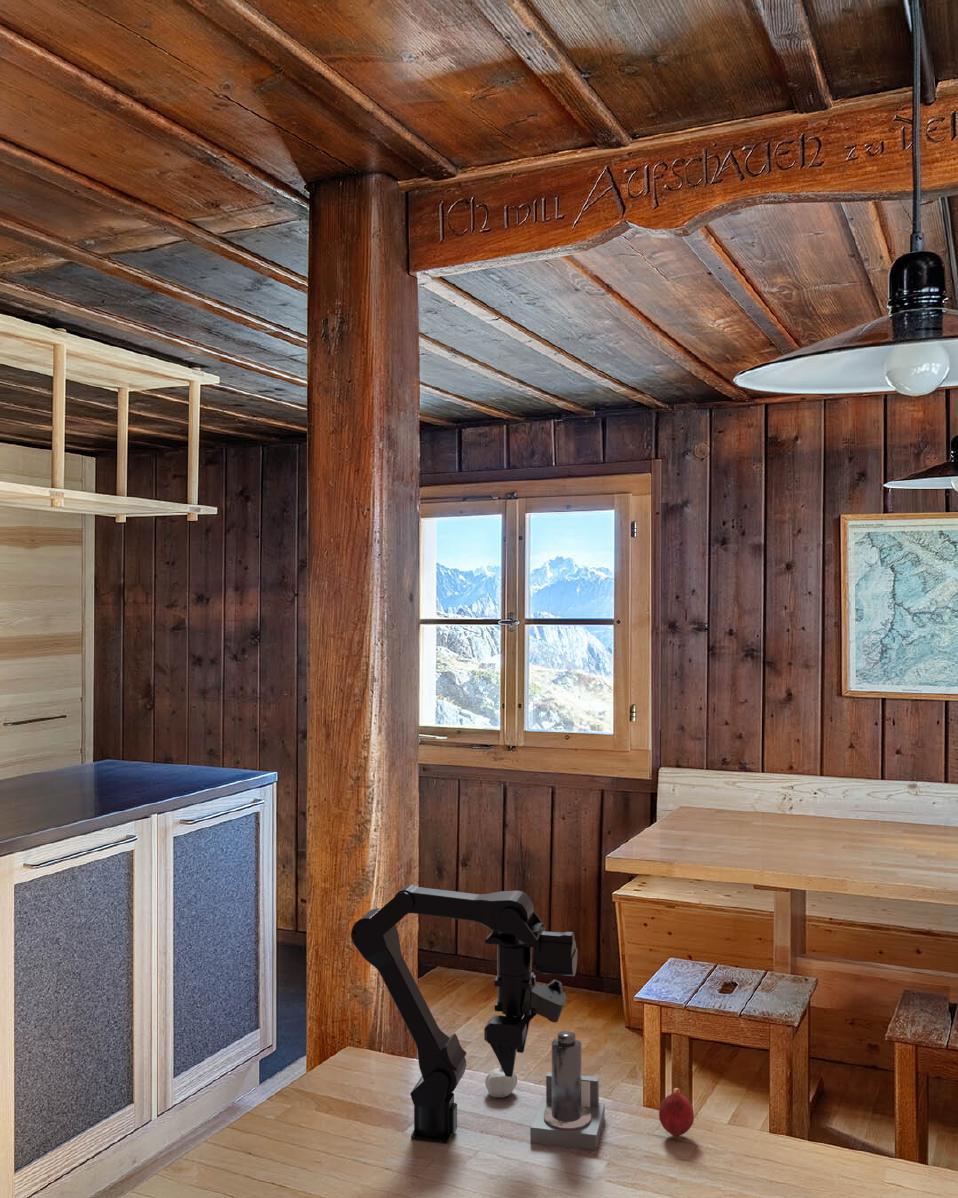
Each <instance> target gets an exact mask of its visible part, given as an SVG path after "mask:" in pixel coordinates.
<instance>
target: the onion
mask: <svg viewBox="0 0 958 1198" xmlns="http://www.w3.org/2000/svg"><path fill="white" fill-rule="evenodd" d="M658 1117H659V1121H660V1124H661V1125H662V1128H664V1130H665V1131H666V1132H667V1133H669V1134H670V1135H671V1136H673V1137H675V1138H678V1137H681V1136H682V1135H684V1134H685V1133H687V1132H688V1131H689V1130H690V1129H691V1127H692V1126H693V1125H694V1119H695V1113H694V1108H693V1105H692V1104H691V1102H690V1100H688V1098H687V1097H686V1096H685V1095H683V1094H682V1093H681V1089H680V1088H679V1087H676V1088H673V1091H672V1093H670V1094H669V1095H667V1096H666V1097H664V1098H663V1100H662V1101H661V1102H660V1105H659V1111H658Z"/></svg>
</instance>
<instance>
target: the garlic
mask: <svg viewBox="0 0 958 1198" xmlns="http://www.w3.org/2000/svg"><path fill="white" fill-rule="evenodd" d="M517 1084H518V1077H517V1074H516V1073H515V1072H514V1071H513V1075H512V1077H507V1076H505V1074H504V1071H503V1069H502V1067H501V1066H500V1067H497V1068H494V1069H492V1070H491V1071H490V1072H489V1073H488V1074H487V1075H486V1078H485V1087H486V1089H487V1092H488V1094H489V1095H490V1096H491V1097H493V1098H504V1097H507V1096H509V1095H511V1094H512V1093H513V1091H514V1090H515V1089H516V1087H517Z"/></svg>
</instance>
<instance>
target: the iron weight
mask: <svg viewBox="0 0 958 1198" xmlns="http://www.w3.org/2000/svg"><path fill="white" fill-rule="evenodd" d="M551 1072H552V1116H553V1117H554V1118H555V1119H556V1120H559V1121H563V1122H572V1121H576V1120H578V1119H580V1118H581V1075H582V1042H581V1041H580V1040H579V1039H577V1038H576V1034H575V1032H572V1031H569V1030H564V1031H563V1030H562V1031H560V1032H558V1033H557V1038H555V1039H553V1040H552V1041H551Z"/></svg>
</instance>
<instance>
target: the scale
mask: <svg viewBox="0 0 958 1198" xmlns="http://www.w3.org/2000/svg"><path fill="white" fill-rule="evenodd" d="M599 1081H600V1078H599V1077H598V1076H589V1075H582V1074H581V1106H583V1107H585V1108H586V1109H588V1110H589V1111H590V1113H591V1122H590V1123H589V1124H588V1125H587V1126H586V1127H583V1128H581V1129H576V1130H562V1129H557V1128H554V1127H552V1126H550V1125H548V1124H547V1123H546V1122H545V1120H544V1111H545V1110H546V1109H547V1108H548V1107H550V1106H552V1071H548V1072H547V1073H546V1075H545V1086H546V1087H545V1094H546V1095H545V1096H541V1099H540V1101H539V1104H538V1106H537V1108H536V1109H537V1110H536V1112H535V1114H534V1117H533V1119H532V1122H531V1124H530V1131H529V1132H530V1134H529V1135H530V1138H529V1139H530V1141H529V1142H530V1143H534V1144H540V1145H541V1144H542V1145H549V1146H550V1145H551V1146H558V1147H566V1148H572V1149H580V1150H581V1149H583V1150H591V1151H597V1149H598V1145H599V1141H600V1138H601V1134H602V1130H603V1126H604V1122H605V1117H606V1116H605V1108H606V1106H605V1105H606V1104H605V1103H602V1102H599V1101H600V1095H599V1094H600V1086H599V1085H600V1082H599Z"/></svg>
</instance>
